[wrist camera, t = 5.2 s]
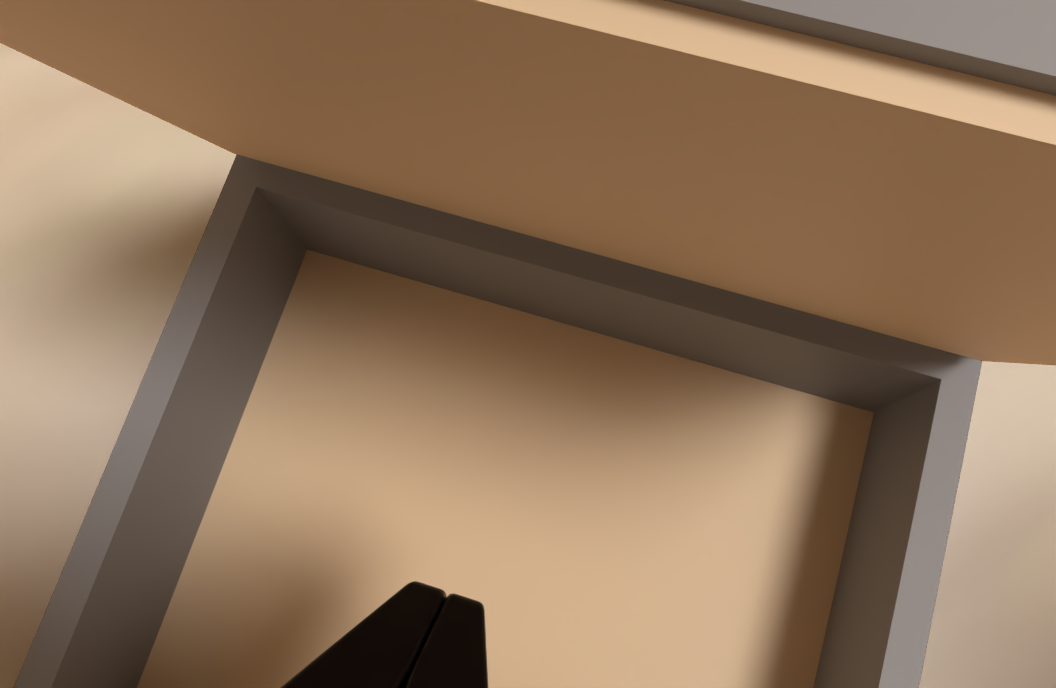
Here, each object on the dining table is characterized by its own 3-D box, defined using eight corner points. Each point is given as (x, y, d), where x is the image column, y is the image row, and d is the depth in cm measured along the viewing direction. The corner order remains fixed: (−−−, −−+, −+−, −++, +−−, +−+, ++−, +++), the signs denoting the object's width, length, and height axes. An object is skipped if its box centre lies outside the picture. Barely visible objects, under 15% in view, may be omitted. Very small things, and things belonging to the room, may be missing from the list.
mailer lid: (2378, 455, 3) (2451, 262, 3) (-809, -333, 5) (-779, -466, 5) (988, 364, 15) (999, 323, 15) (230, 153, 16) (240, 116, 16)
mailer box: (767, 1005, 16) (830, 1140, 13) (91, 759, 18) (-39, 812, 14) (897, 398, 19) (982, 356, 15) (299, 228, 21) (238, 150, 17)
